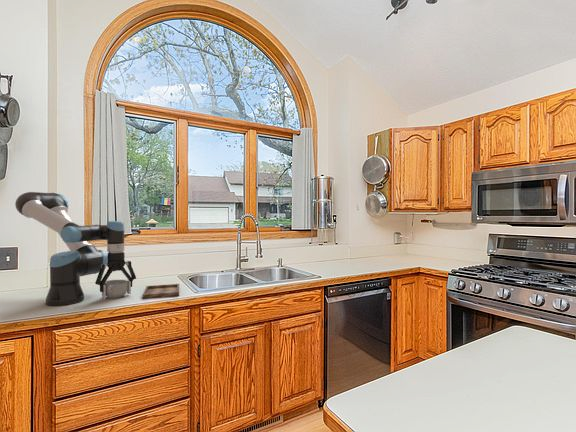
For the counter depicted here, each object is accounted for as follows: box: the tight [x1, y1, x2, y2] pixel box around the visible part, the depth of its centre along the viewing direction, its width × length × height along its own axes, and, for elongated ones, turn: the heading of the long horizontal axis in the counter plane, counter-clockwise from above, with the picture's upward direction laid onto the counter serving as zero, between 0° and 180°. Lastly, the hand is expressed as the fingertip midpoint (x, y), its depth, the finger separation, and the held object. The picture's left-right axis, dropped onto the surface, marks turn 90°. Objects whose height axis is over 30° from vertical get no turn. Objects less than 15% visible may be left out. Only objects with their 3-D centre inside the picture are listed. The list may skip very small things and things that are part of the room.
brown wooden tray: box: [142, 283, 180, 300], centre depth 172 cm, size 17×20×2 cm
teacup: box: [104, 279, 129, 299], centre depth 162 cm, size 14×11×8 cm
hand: (116, 296), depth 163 cm, fingers closed on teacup, 11 cm apart
